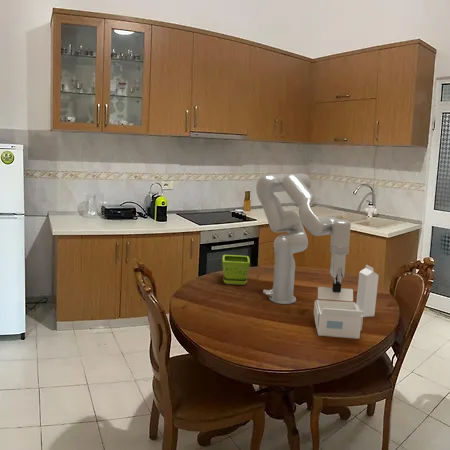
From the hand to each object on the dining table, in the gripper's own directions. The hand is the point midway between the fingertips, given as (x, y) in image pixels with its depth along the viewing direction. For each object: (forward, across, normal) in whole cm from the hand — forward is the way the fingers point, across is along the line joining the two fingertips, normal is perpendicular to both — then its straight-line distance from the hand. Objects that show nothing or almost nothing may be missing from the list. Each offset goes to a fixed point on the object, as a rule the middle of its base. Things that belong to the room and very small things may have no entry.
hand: (336, 291), depth 207 cm
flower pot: (+11, -42, -46) cm, 63 cm away
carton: (+13, +9, 0) cm, 16 cm away
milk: (+13, -10, +14) cm, 22 cm away
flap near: (+2, +20, 0) cm, 20 cm away
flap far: (+1, 0, 0) cm, 1 cm away
